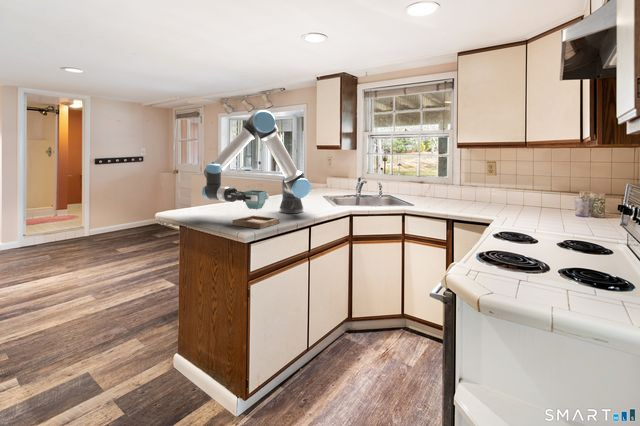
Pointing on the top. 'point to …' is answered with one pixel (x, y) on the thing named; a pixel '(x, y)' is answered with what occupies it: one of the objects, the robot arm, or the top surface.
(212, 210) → the top surface
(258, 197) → the flower pot
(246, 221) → the walnut tray
